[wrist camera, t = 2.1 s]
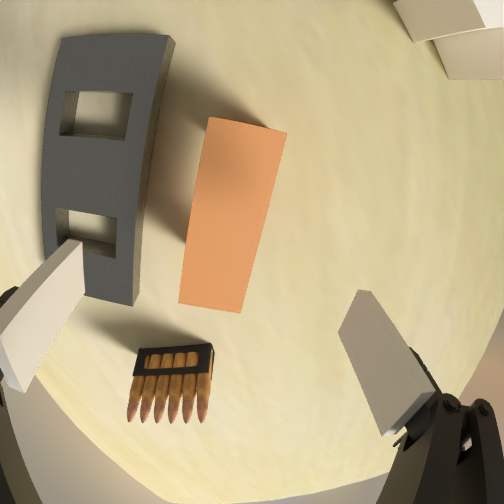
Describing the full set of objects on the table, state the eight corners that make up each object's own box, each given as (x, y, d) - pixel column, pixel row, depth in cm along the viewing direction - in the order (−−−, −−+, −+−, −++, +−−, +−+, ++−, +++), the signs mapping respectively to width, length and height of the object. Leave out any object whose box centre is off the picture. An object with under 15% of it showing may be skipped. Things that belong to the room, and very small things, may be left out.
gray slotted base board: (75, 42, 20) (62, 38, 17) (175, 42, 22) (169, 35, 19) (59, 273, 32) (48, 285, 29) (139, 292, 33) (132, 306, 31)
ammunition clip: (211, 343, 38) (207, 418, 27) (214, 352, 38) (212, 426, 28) (138, 348, 38) (118, 417, 27) (143, 357, 38) (125, 425, 28)
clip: (217, 117, 26) (209, 116, 17) (268, 128, 26) (287, 133, 17) (192, 248, 31) (178, 302, 22) (237, 256, 32) (240, 313, 23)
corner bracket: (392, 3, 20) (457, -28, 9) (452, -2, 18) (514, -18, 7) (431, 85, 24) (506, 86, 14) (484, 70, 23) (551, 73, 12)
